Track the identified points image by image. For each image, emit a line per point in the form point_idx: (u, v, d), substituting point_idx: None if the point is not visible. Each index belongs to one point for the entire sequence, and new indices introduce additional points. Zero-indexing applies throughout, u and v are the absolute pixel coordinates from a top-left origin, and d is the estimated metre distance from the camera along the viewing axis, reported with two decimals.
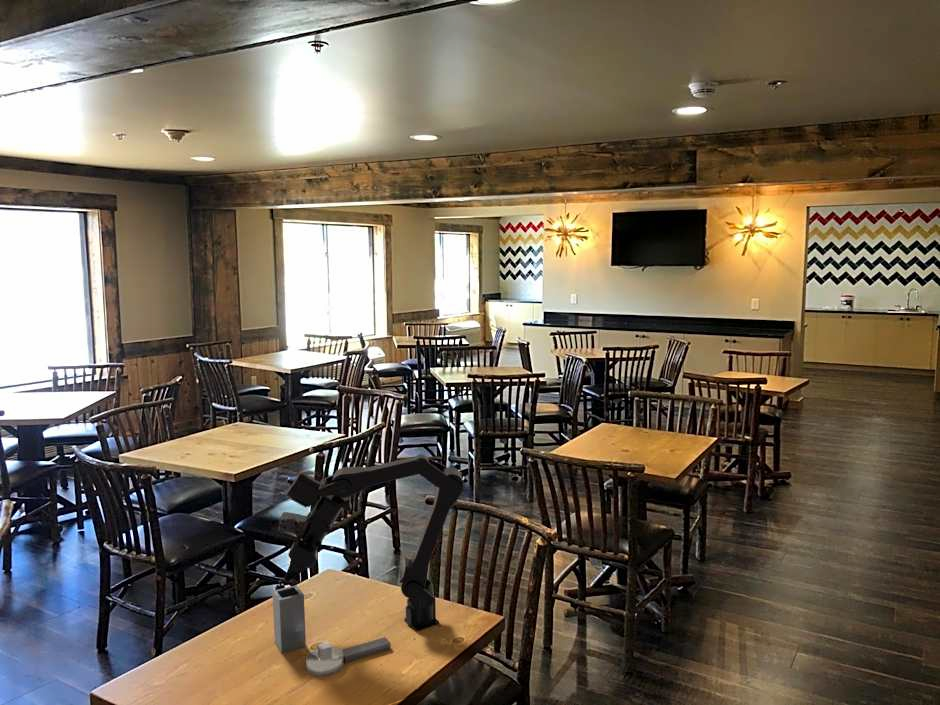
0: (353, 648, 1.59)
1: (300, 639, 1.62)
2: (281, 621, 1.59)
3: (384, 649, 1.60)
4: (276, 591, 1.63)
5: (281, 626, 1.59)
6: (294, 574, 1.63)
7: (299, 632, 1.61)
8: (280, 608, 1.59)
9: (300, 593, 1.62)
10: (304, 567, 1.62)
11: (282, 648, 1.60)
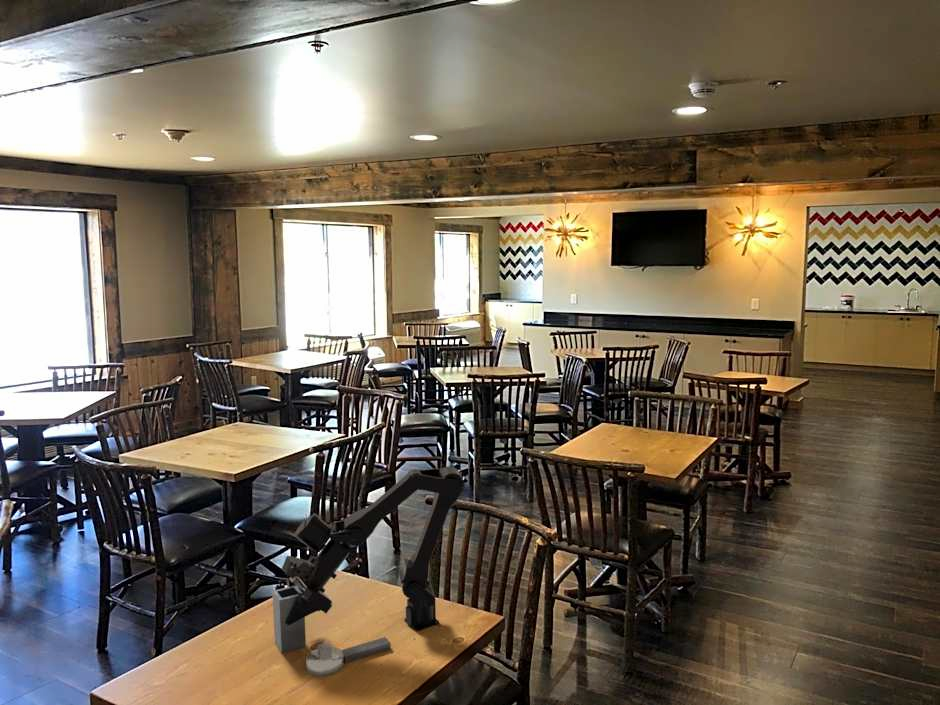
0: (353, 648, 1.59)
1: (300, 639, 1.62)
2: (281, 621, 1.59)
3: (384, 649, 1.60)
4: (276, 591, 1.63)
5: (281, 626, 1.59)
6: (298, 617, 1.60)
7: (299, 632, 1.61)
8: (280, 608, 1.59)
9: (300, 593, 1.62)
10: (311, 611, 1.60)
11: (282, 648, 1.60)
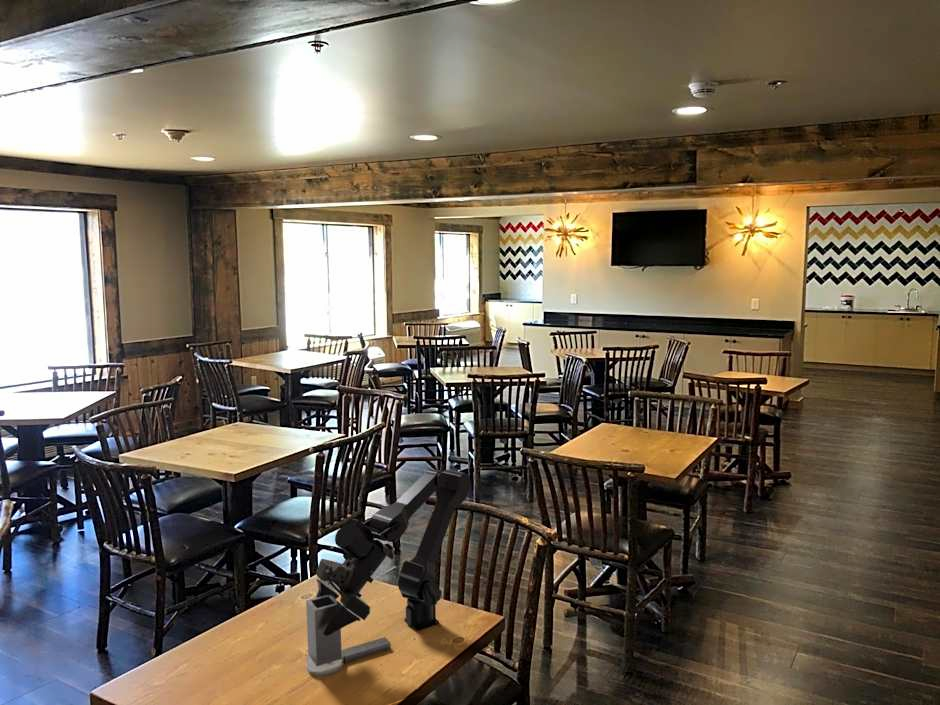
0: (353, 648, 1.59)
1: (336, 651, 1.53)
2: (316, 633, 1.50)
3: (384, 649, 1.60)
4: (310, 600, 1.54)
5: (316, 638, 1.50)
6: (336, 628, 1.49)
7: (335, 644, 1.52)
8: (315, 619, 1.50)
9: (336, 603, 1.52)
10: (350, 620, 1.50)
11: (317, 661, 1.51)
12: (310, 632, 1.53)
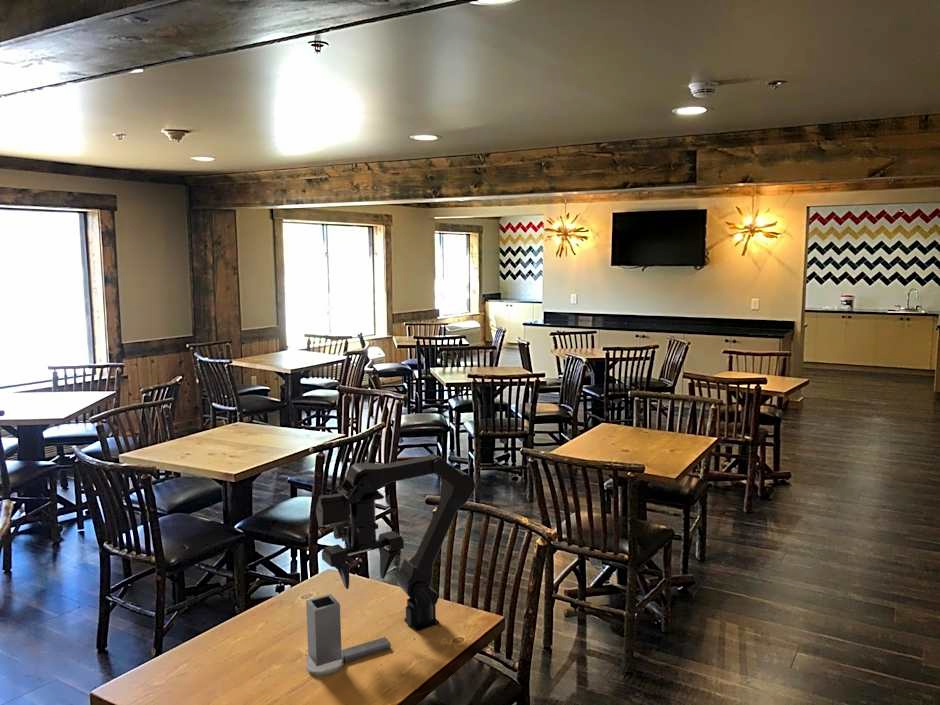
0: (353, 648, 1.59)
1: (336, 651, 1.53)
2: (316, 633, 1.50)
3: (384, 649, 1.60)
4: (310, 600, 1.54)
5: (316, 638, 1.50)
6: (344, 580, 1.61)
7: (335, 644, 1.52)
8: (315, 619, 1.50)
9: (336, 603, 1.52)
10: (342, 570, 1.60)
11: (317, 661, 1.51)
12: (310, 632, 1.53)
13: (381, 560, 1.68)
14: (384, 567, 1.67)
